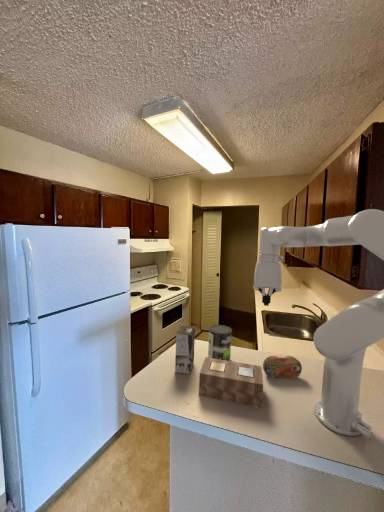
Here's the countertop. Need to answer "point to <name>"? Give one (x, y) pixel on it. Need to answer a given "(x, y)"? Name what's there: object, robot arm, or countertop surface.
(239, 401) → the sleeve block
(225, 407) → the countertop surface
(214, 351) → the coffee can
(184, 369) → the coffee box
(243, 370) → the metal peg
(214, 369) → the beech peg
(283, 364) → the tin
